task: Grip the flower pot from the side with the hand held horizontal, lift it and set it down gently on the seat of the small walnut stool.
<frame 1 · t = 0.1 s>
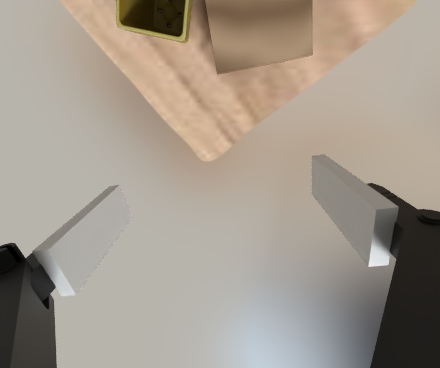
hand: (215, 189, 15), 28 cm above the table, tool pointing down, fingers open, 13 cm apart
stool: (250, 28, 34), on the table
flower pot: (171, 15, 34), on the table
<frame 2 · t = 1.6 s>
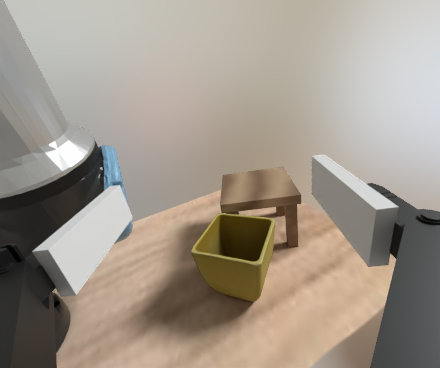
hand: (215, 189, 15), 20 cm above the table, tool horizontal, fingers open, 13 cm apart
stool: (260, 230, 42), on the table
flower pot: (243, 284, 32), on the table
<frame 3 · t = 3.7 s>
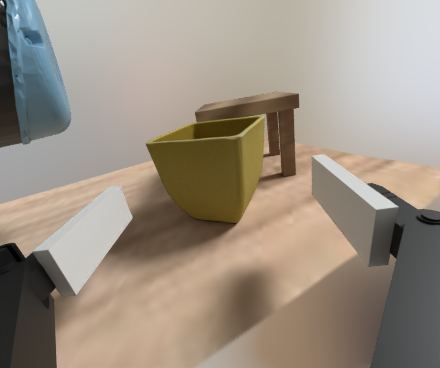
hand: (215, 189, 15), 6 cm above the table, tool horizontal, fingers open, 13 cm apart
stool: (250, 166, 34), on the table
flower pot: (225, 211, 24), on the table
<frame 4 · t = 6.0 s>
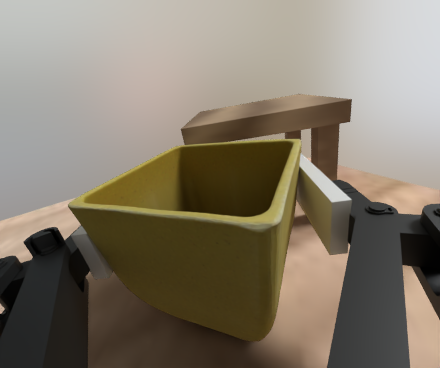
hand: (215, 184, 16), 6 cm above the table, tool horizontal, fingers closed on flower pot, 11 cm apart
stool: (263, 198, 25), on the table
flower pot: (229, 294, 14), on the table, touching gripper
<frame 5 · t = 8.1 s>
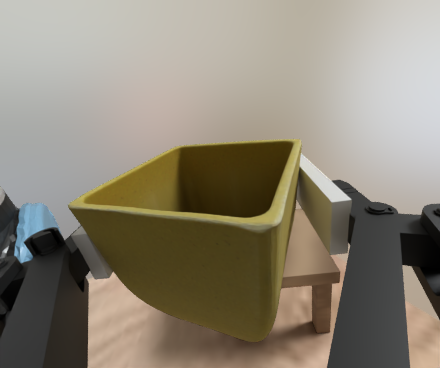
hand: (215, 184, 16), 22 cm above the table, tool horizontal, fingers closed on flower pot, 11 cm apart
stool: (273, 295, 31), on the table
flower pot: (229, 295, 14), point 16 cm above the table, touching gripper
when the fingers open (17 cm above the table, at t = 10.6 s): flower pot drops 1 cm, resting on stool.
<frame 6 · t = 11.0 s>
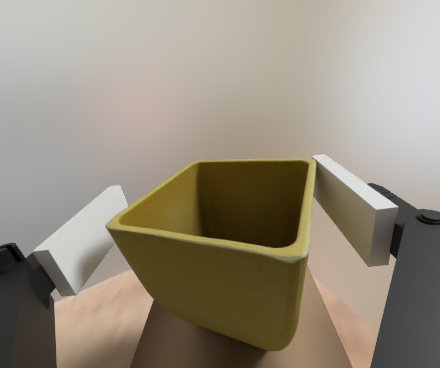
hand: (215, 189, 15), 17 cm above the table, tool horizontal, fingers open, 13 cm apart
flower pot: (245, 303, 15), point 10 cm above the table, touching stool
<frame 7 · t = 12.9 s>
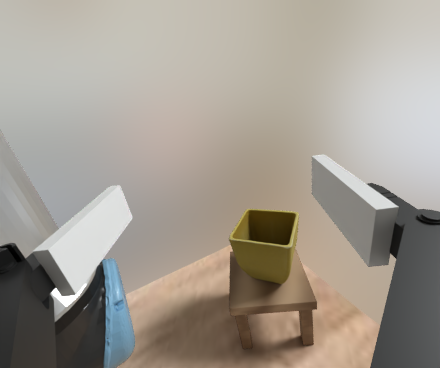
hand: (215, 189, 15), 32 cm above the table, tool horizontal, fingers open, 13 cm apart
stool: (271, 314, 39), on the table
flower pot: (271, 271, 36), point 10 cm above the table, touching stool
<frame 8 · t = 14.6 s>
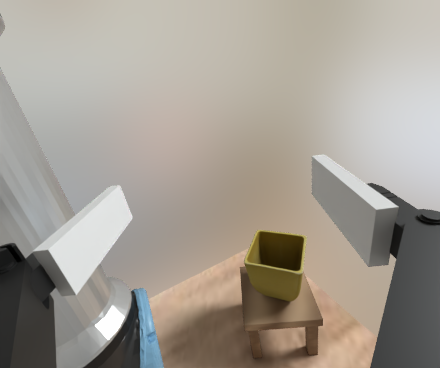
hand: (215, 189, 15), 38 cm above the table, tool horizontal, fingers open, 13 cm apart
stool: (278, 324, 43), on the table
flower pot: (279, 287, 39), point 10 cm above the table, touching stool
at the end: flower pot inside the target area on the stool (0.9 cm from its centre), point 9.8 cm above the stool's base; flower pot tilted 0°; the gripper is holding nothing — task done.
